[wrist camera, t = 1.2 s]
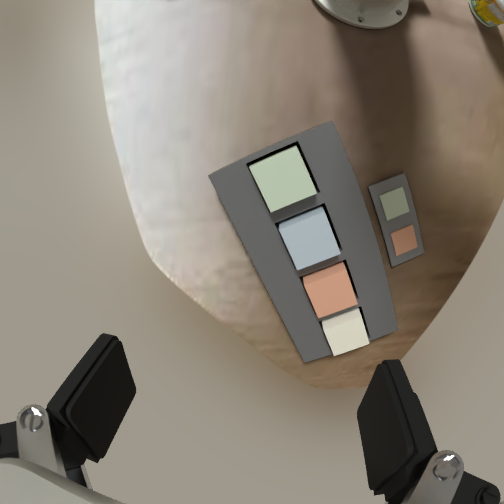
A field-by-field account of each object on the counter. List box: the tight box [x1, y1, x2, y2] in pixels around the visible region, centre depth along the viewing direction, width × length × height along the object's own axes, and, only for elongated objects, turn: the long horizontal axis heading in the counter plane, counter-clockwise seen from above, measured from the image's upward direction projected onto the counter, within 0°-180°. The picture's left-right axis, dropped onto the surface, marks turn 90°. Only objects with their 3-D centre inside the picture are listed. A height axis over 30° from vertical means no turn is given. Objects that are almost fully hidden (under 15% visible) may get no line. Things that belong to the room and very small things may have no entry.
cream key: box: [322, 307, 369, 356], centre depth 35 cm, size 5×5×3 cm
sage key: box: [249, 146, 317, 212], centre depth 28 cm, size 5×5×3 cm
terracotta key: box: [303, 260, 358, 318], centre depth 33 cm, size 5×5×3 cm
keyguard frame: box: [208, 121, 398, 362], centre depth 33 cm, size 14×28×3 cm, turn 25°
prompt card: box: [367, 172, 424, 267], centre depth 31 cm, size 5×11×1 cm, turn 25°
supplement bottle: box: [469, 0, 504, 27], centre depth 12 cm, size 5×5×10 cm
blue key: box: [279, 205, 341, 270], centre depth 30 cm, size 5×5×3 cm
